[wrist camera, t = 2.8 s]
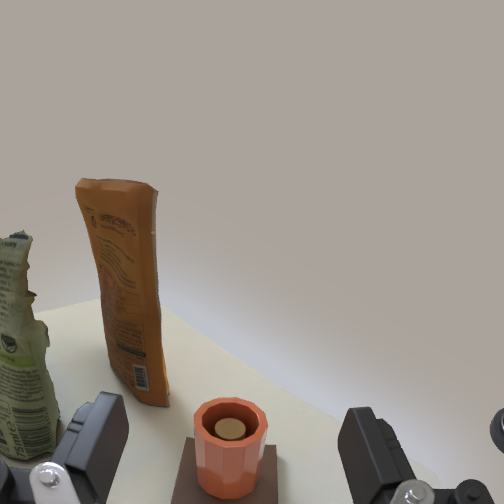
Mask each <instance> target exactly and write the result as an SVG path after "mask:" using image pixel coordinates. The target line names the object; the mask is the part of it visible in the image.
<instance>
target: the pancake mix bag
mask: <svg viewBox="0 0 504 504" xmlns="http://www.w3.org/2000/svg"><path fill="white" fill-rule="evenodd" d="M75 192H76V199H77V202H78V204H79V207H80V209H81V212H82V215H83V218H84V221H85V223H86V227H87V231H88V235H89V239H90V243H91V248H92V252H93V255H94V259H95V262H96V267H97V271H98V277H99V284H100V290H101V308H102V316H103V324H104V332H105V339H106V344H107V348H108V356H109V360H110V365H111V366H112V368H113V369H114V370H115V372H116V373H117V374H118V375H119V377H120V378H121V379H122V380H123V381H124V383H125V384H126V385H127V386H128V387H129V388H130V390H131V391H132V392H133V393H134V395H135V396H136V397H137V399H138V400H139V401H140V402H142V403H145V404H148V405H152V406H163V407H170V405H169V401H168V397H167V396H168V394H169V384H168V380H167V376H166V366H165V360H164V355H163V348H162V342H161V308H160V301H159V295H158V272H157V258H156V204H157V196H158V191H157V190H155V189H154V188H153V187H151V186H150V185H148V184H147V183H143V182H138V181H132V180H121V179H101V180H96V179H87V178H82V179H81V180H80V181H79V182H78V183H77V185H76V186H75Z"/></svg>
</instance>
